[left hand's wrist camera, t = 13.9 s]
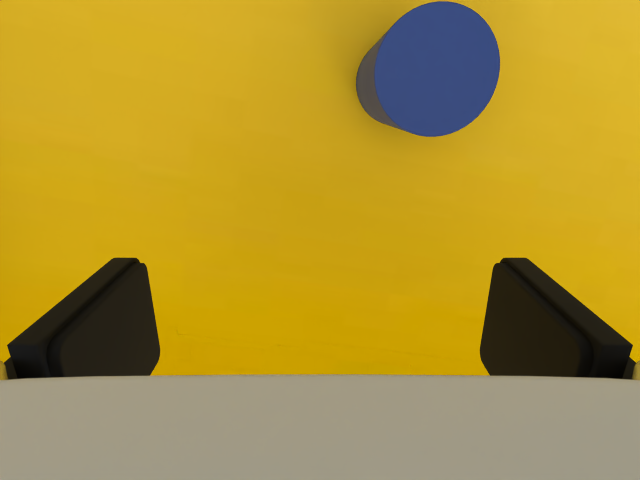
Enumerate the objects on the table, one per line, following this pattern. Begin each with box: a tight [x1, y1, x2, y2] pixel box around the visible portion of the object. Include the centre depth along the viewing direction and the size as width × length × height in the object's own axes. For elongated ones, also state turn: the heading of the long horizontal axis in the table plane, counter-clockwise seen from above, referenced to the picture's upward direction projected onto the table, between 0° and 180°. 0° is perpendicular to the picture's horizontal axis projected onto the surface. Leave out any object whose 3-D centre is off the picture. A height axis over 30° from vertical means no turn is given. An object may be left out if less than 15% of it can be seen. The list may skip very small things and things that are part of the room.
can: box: [356, 1, 500, 137], centre depth 25 cm, size 6×6×11 cm
